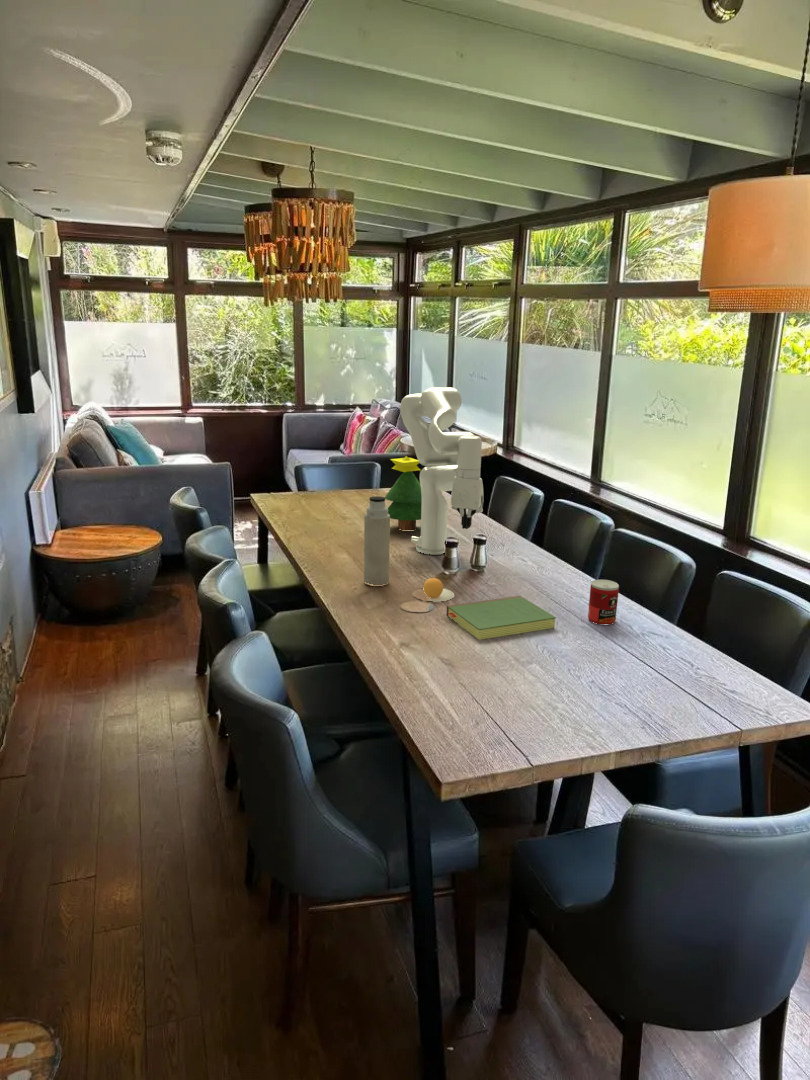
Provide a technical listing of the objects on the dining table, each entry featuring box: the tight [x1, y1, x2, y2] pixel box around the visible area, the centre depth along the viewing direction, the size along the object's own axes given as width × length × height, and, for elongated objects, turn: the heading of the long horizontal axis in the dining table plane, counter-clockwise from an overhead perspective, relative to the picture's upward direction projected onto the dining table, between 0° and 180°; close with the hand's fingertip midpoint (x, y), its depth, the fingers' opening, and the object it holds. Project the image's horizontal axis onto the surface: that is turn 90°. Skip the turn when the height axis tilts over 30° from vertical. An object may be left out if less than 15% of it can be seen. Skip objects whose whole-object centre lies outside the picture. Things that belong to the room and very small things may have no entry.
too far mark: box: [426, 602, 435, 612], centre depth 228 cm, size 10×10×1 cm
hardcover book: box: [446, 595, 557, 640], centre depth 217 cm, size 25×19×4 cm
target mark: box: [430, 588, 455, 603], centre depth 238 cm, size 13×13×1 cm
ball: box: [422, 577, 444, 598], centre depth 235 cm, size 6×6×6 cm
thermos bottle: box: [363, 495, 391, 585], centre depth 244 cm, size 8×8×28 cm
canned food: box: [587, 579, 620, 625], centre depth 219 cm, size 8×8×11 cm
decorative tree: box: [384, 455, 422, 531], centre depth 309 cm, size 19×19×30 cm
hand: (466, 527), depth 258 cm, fingers closed
